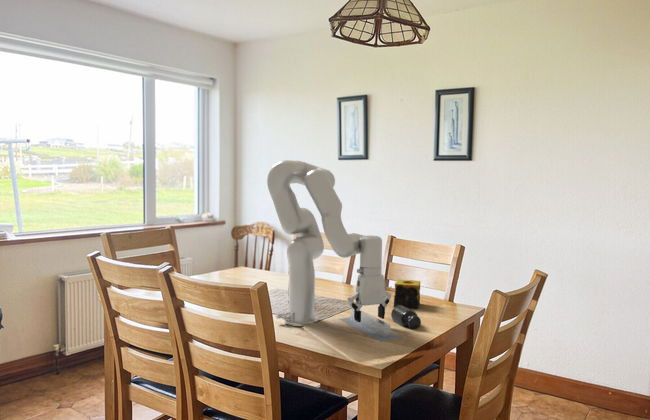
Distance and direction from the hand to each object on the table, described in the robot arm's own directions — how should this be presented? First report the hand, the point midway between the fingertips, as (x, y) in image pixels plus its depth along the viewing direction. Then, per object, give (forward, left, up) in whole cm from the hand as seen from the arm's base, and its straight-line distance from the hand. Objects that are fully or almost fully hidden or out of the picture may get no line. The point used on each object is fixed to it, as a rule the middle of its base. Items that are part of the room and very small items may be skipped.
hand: (369, 319), depth 183 cm
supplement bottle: (+15, +4, -1) cm, 16 cm away
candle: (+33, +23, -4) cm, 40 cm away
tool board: (0, 0, -4) cm, 4 cm away
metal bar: (0, 0, -3) cm, 3 cm away
